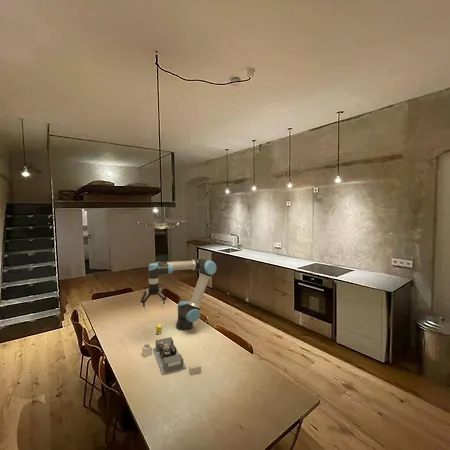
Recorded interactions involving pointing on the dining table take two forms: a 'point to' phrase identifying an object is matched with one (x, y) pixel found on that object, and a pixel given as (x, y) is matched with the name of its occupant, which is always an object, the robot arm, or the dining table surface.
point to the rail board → (168, 358)
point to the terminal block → (195, 369)
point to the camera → (167, 350)
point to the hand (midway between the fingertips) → (153, 309)
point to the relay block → (147, 350)
